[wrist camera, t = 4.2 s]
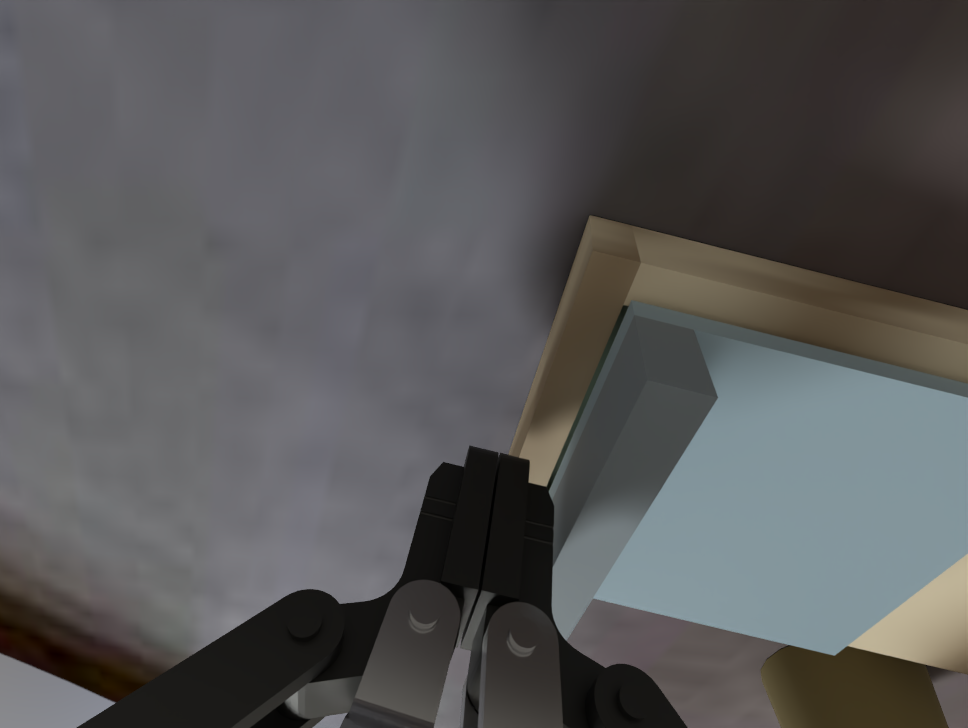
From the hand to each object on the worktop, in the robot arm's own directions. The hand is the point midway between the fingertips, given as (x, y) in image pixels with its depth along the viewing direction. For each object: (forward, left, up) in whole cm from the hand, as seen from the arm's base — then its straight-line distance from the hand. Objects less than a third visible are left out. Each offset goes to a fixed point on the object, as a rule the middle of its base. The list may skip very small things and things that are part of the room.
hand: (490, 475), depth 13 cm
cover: (-7, 0, -1) cm, 7 cm away
